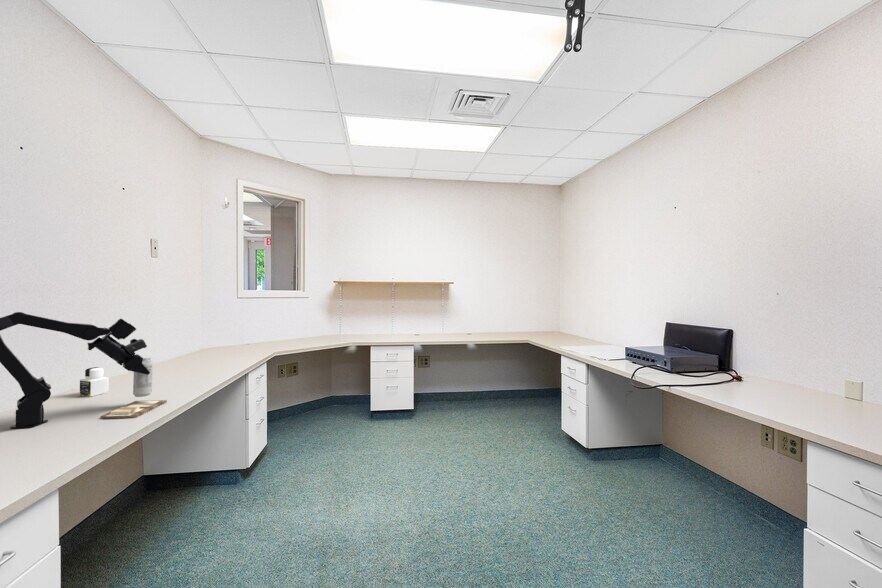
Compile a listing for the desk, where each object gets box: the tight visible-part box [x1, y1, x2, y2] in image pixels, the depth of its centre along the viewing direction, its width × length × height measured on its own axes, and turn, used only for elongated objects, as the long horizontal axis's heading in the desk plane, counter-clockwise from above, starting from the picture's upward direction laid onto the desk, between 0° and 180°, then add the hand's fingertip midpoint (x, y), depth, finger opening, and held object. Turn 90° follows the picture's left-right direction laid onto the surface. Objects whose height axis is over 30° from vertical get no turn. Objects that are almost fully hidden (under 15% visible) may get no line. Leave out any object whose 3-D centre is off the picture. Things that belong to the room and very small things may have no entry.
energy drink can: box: [132, 357, 154, 398], centre depth 150 cm, size 6×6×15 cm
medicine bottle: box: [79, 366, 110, 398], centre depth 165 cm, size 7×7×12 cm
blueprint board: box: [99, 399, 168, 420], centre depth 143 cm, size 20×12×2 cm, turn 9°
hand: (147, 372), depth 151 cm, fingers closed on energy drink can, 6 cm apart
